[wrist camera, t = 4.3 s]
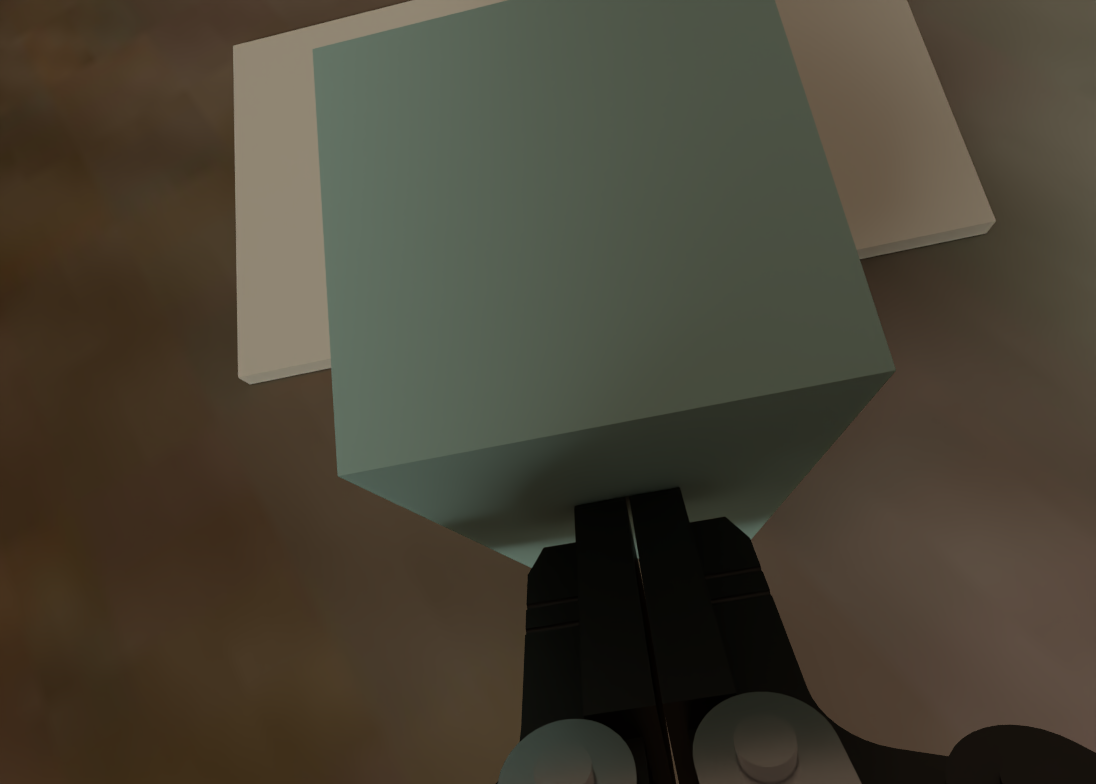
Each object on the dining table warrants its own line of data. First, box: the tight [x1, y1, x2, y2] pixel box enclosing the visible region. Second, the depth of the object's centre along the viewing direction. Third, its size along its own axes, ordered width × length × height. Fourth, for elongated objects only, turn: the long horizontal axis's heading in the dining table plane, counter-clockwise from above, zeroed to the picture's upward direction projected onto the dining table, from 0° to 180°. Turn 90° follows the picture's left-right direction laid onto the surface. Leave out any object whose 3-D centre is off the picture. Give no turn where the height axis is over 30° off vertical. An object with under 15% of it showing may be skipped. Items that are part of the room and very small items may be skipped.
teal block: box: [313, 0, 896, 568], centre depth 13 cm, size 5×5×12 cm
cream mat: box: [233, 0, 996, 384], centre depth 22 cm, size 20×12×1 cm, turn 99°
